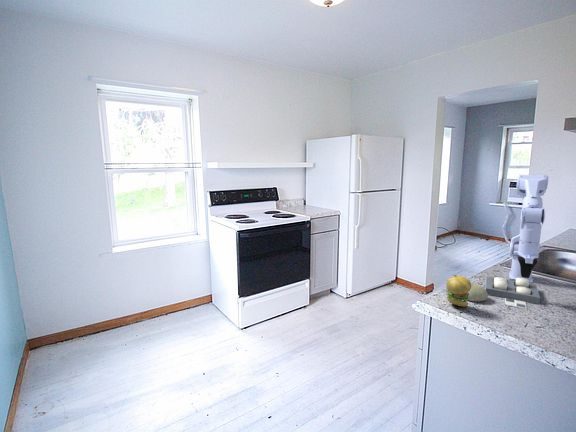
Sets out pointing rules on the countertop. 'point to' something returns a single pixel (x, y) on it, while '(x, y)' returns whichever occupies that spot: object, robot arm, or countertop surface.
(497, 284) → the button
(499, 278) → the button
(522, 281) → the button
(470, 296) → the sea urchin shell
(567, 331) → the countertop surface
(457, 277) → the hamburger
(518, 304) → the tile
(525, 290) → the button
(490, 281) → the board
